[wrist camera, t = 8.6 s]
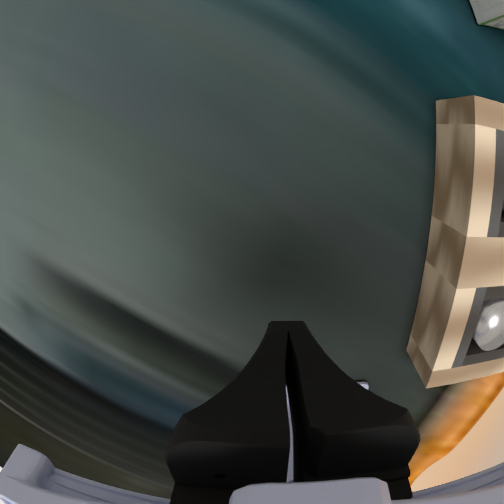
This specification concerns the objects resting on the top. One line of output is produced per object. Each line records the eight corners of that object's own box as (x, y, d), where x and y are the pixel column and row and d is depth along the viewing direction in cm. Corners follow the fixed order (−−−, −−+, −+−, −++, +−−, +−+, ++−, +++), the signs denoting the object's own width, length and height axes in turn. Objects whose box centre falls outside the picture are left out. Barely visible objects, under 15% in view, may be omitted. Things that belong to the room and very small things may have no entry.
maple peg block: (491, 338, 24) (516, 368, 19) (406, 350, 25) (425, 388, 20) (528, 124, 17) (568, 127, 12) (435, 100, 18) (474, 95, 13)
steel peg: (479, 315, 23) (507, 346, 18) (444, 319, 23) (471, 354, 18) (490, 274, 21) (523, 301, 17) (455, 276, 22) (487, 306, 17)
